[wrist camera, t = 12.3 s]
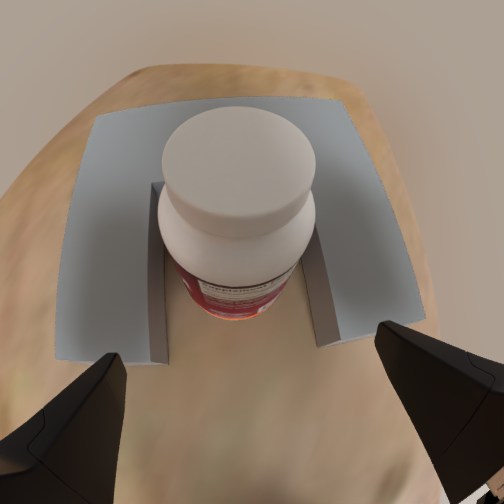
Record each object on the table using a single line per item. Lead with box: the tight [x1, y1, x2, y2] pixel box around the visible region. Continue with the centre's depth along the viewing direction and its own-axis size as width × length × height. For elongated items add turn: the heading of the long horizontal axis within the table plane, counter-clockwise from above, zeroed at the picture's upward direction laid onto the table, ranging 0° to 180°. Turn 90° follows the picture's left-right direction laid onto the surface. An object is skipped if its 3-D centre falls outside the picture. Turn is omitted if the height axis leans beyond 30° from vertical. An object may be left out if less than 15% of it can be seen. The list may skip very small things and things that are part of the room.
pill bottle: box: [158, 106, 316, 320], centre depth 13 cm, size 6×6×11 cm
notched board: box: [55, 97, 426, 365], centre depth 18 cm, size 18×20×4 cm
